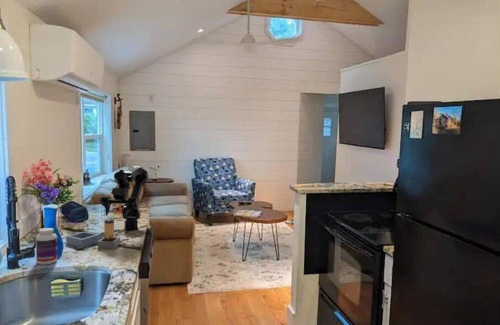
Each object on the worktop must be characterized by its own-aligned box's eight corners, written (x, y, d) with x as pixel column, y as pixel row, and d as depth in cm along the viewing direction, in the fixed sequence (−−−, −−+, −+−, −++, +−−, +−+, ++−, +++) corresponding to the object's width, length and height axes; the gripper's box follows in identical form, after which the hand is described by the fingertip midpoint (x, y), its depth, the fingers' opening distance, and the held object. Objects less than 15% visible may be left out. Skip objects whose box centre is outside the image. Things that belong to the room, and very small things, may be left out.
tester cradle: (104, 243, 189) (104, 236, 189) (120, 244, 189) (120, 237, 189) (97, 248, 181) (97, 241, 181) (114, 249, 181) (114, 242, 181)
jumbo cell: (112, 244, 188) (113, 219, 187) (114, 247, 185) (114, 221, 183) (103, 245, 186) (103, 219, 185) (105, 248, 182) (105, 221, 181)
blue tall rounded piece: (70, 232, 207) (70, 196, 206) (56, 237, 198) (55, 199, 196) (50, 229, 212) (49, 194, 210) (34, 233, 203) (34, 197, 201)
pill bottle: (60, 262, 161) (59, 229, 160) (39, 267, 156) (38, 232, 154) (54, 257, 167) (53, 225, 166) (33, 261, 161) (33, 228, 160)
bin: (84, 238, 196) (84, 231, 196) (99, 242, 191) (99, 234, 191) (66, 244, 186) (66, 236, 186) (81, 247, 182) (81, 239, 181)
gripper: (101, 181, 196) (92, 206, 186) (136, 182, 196) (129, 207, 186) (107, 193, 205) (98, 218, 195) (141, 194, 204) (134, 219, 194)
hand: (115, 215), depth 192 cm, fingers open, 9 cm apart
